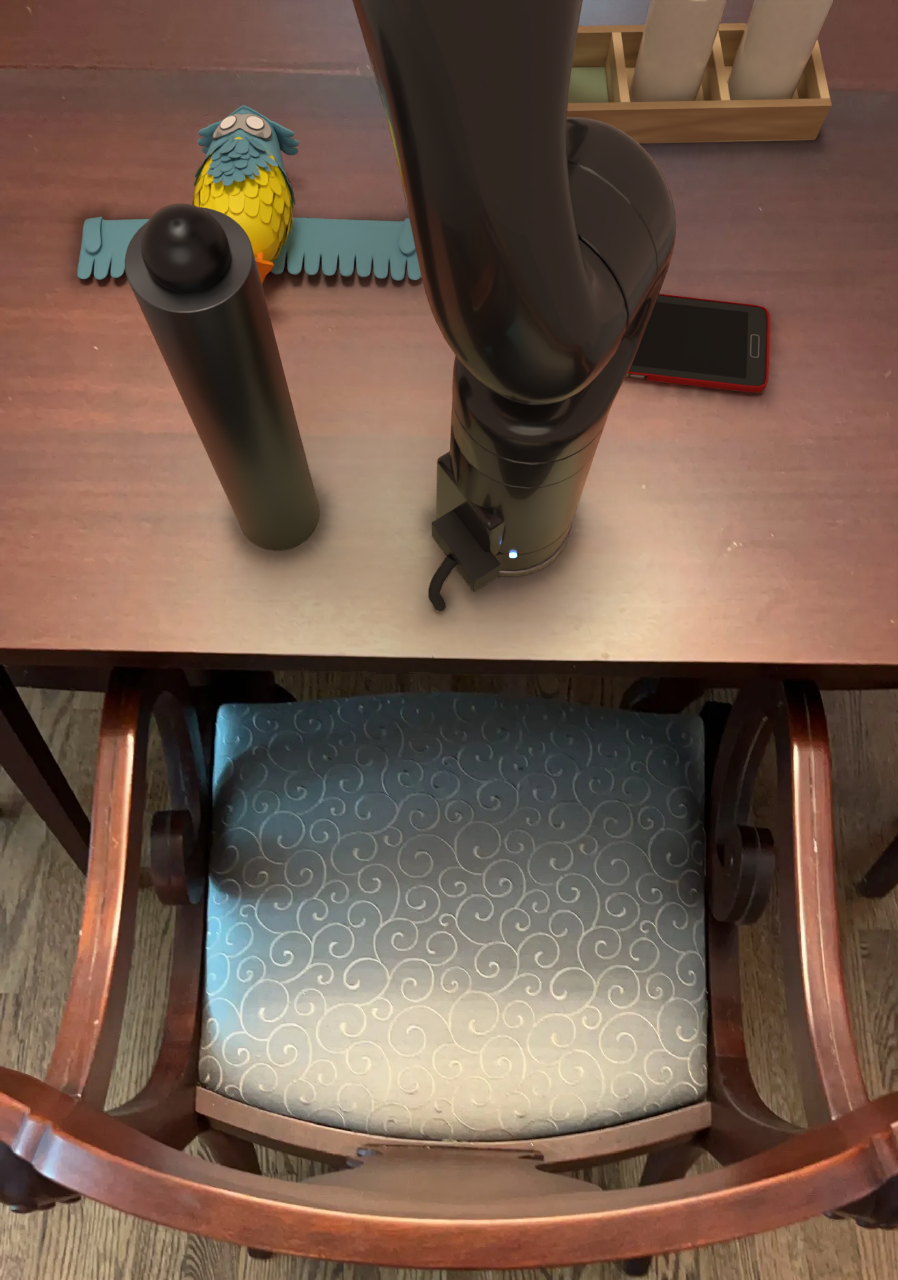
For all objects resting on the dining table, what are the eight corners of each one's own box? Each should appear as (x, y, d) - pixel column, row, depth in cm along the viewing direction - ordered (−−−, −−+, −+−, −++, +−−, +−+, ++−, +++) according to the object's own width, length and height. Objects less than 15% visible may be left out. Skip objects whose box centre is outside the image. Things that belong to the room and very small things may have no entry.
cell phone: (765, 396, 75) (769, 389, 74) (579, 374, 75) (581, 367, 74) (767, 313, 77) (771, 305, 76) (587, 292, 78) (589, 284, 77)
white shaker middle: (655, 136, 82) (695, -7, 70) (614, 93, 84) (646, -55, 71) (707, 107, 83) (755, -39, 71) (666, 65, 85) (706, -86, 72)
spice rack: (813, 144, 83) (832, 105, 79) (515, 150, 82) (520, 111, 78) (796, 63, 86) (814, 21, 82) (509, 68, 85) (512, 26, 81)
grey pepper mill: (265, 565, 70) (148, 298, 41) (224, 503, 72) (82, 204, 42) (334, 523, 71) (268, 235, 42) (292, 463, 73) (199, 145, 44)
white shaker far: (751, 134, 82) (808, -9, 70) (709, 91, 84) (757, -57, 71) (802, 105, 83) (867, -40, 71) (759, 63, 85) (815, -87, 72)
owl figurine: (29, 241, 68) (55, 80, 73) (72, 319, 76) (93, 170, 81) (422, 242, 68) (421, 83, 73) (423, 320, 77) (422, 172, 82)
